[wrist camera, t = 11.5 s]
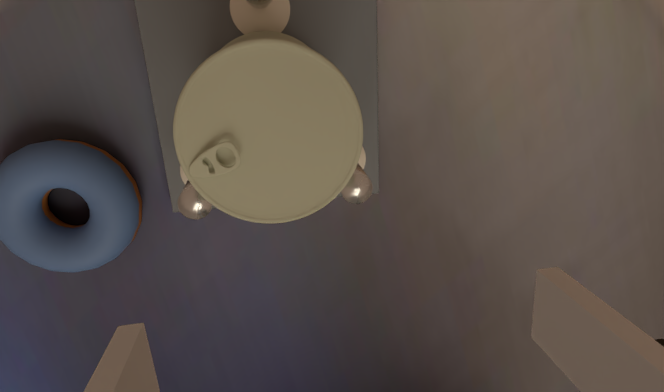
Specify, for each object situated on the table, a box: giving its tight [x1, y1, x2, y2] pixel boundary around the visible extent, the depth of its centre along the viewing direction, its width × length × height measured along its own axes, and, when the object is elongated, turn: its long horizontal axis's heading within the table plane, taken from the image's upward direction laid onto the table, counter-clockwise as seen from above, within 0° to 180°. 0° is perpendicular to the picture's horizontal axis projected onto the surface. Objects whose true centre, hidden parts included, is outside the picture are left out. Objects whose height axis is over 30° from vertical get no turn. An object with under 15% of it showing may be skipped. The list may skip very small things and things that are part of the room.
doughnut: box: [0, 139, 142, 272], centre depth 33 cm, size 10×10×5 cm
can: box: [173, 31, 363, 223], centre depth 27 cm, size 9×9×12 cm
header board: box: [134, 0, 379, 212], centre depth 33 cm, size 16×16×1 cm
